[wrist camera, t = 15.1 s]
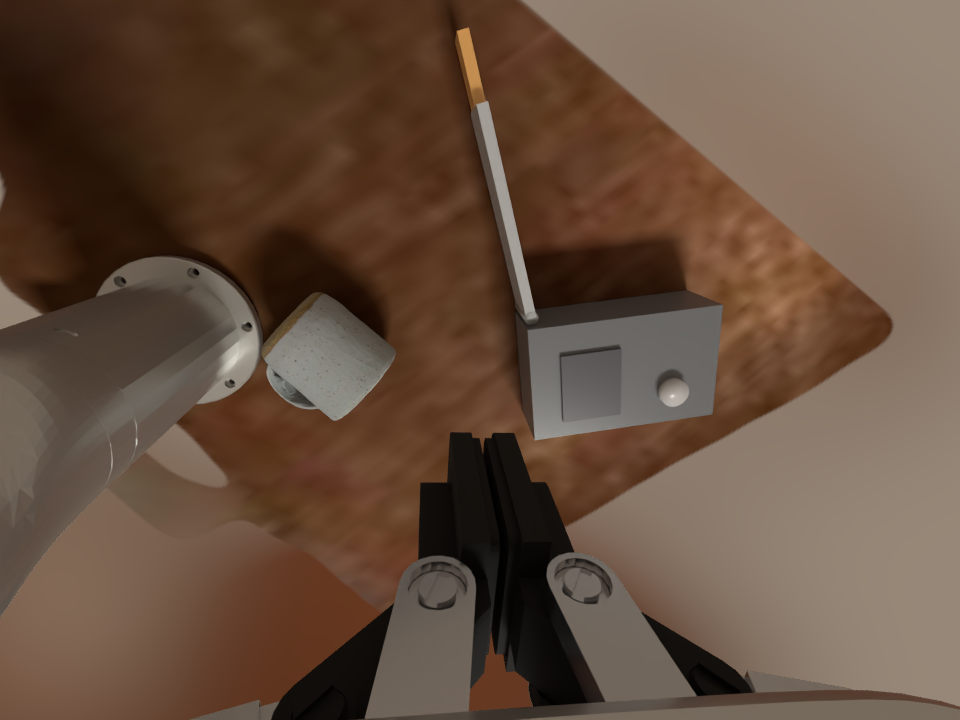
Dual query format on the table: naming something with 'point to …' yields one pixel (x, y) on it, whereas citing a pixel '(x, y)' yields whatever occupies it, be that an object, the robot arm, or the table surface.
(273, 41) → the table surface
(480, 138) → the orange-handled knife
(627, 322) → the grey control box
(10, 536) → the robot arm
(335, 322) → the ceramic mug
